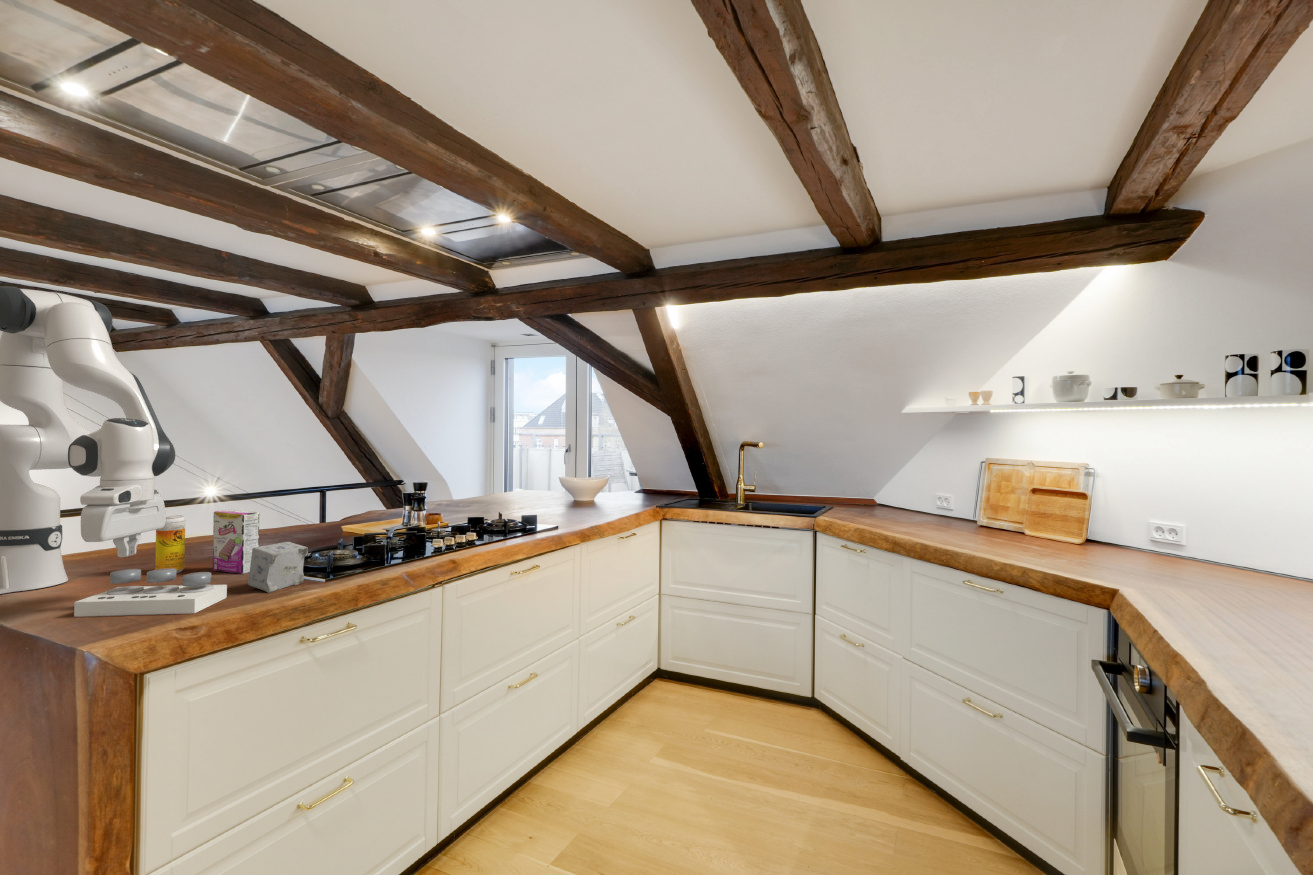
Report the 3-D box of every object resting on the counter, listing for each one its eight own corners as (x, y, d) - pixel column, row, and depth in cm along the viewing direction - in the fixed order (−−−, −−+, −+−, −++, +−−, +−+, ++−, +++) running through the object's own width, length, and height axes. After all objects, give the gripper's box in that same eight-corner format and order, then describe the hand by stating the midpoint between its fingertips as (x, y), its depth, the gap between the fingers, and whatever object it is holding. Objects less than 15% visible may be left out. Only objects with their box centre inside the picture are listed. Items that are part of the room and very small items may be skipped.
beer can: (167, 575, 154) (168, 518, 154) (149, 573, 155) (150, 517, 155) (190, 570, 160) (191, 515, 160) (172, 568, 161) (173, 514, 161)
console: (74, 616, 119) (74, 600, 119) (118, 600, 131) (118, 585, 131) (194, 613, 123) (194, 597, 123) (226, 597, 135) (226, 582, 135)
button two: (103, 583, 125) (103, 574, 125) (121, 578, 130) (121, 569, 130) (130, 583, 126) (130, 573, 126) (146, 577, 131) (146, 568, 131)
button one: (177, 586, 127) (177, 577, 127) (191, 581, 132) (191, 572, 132) (202, 586, 128) (202, 576, 128) (215, 580, 133) (216, 571, 133)
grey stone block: (271, 593, 139) (272, 550, 139) (246, 590, 141) (247, 547, 141) (308, 584, 148) (309, 543, 148) (284, 580, 151) (285, 540, 151)
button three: (140, 583, 126) (141, 573, 126) (156, 577, 131) (156, 568, 131) (166, 582, 127) (167, 573, 127) (181, 576, 132) (181, 568, 132)
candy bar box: (211, 571, 159) (212, 511, 159) (229, 567, 164) (230, 509, 164) (242, 574, 156) (243, 513, 156) (259, 570, 161) (260, 511, 161)
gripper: (144, 488, 137) (144, 547, 137) (73, 497, 117) (72, 566, 117) (174, 488, 138) (174, 546, 138) (109, 496, 118) (108, 565, 118)
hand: (127, 555), depth 128 cm, fingers closed
